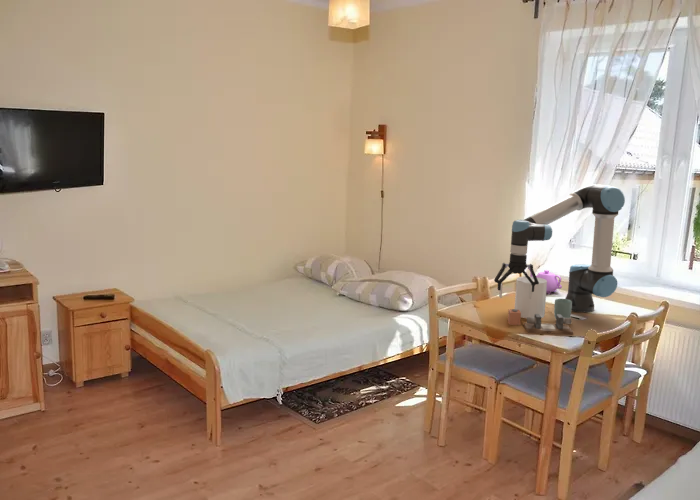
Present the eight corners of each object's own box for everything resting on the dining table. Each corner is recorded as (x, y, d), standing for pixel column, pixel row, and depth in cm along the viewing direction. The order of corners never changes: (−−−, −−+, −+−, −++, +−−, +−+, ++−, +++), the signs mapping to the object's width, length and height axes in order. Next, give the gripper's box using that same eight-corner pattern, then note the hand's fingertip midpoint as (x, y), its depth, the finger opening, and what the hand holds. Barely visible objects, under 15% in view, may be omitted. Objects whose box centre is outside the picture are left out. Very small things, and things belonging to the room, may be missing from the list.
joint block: (518, 321, 294) (519, 308, 293) (520, 325, 289) (521, 311, 288) (507, 321, 294) (508, 308, 293) (509, 324, 289) (510, 311, 288)
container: (517, 309, 315) (520, 275, 312) (546, 313, 309) (549, 278, 306) (511, 316, 302) (514, 281, 299) (541, 320, 296) (544, 284, 293)
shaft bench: (566, 326, 287) (568, 312, 286) (573, 334, 276) (574, 320, 275) (523, 324, 289) (524, 311, 288) (527, 332, 278) (528, 318, 277)
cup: (550, 318, 300) (552, 298, 298) (566, 318, 301) (567, 298, 299) (557, 323, 292) (559, 303, 290) (573, 323, 293) (574, 302, 291)
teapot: (522, 291, 351) (523, 269, 349) (530, 286, 363) (532, 265, 360) (557, 296, 340) (559, 274, 337) (565, 291, 351) (566, 270, 349)
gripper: (544, 253, 288) (540, 296, 292) (490, 251, 290) (487, 294, 294) (547, 256, 281) (543, 301, 284) (492, 254, 283) (489, 298, 287)
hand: (515, 297), depth 289 cm, fingers open, 13 cm apart
